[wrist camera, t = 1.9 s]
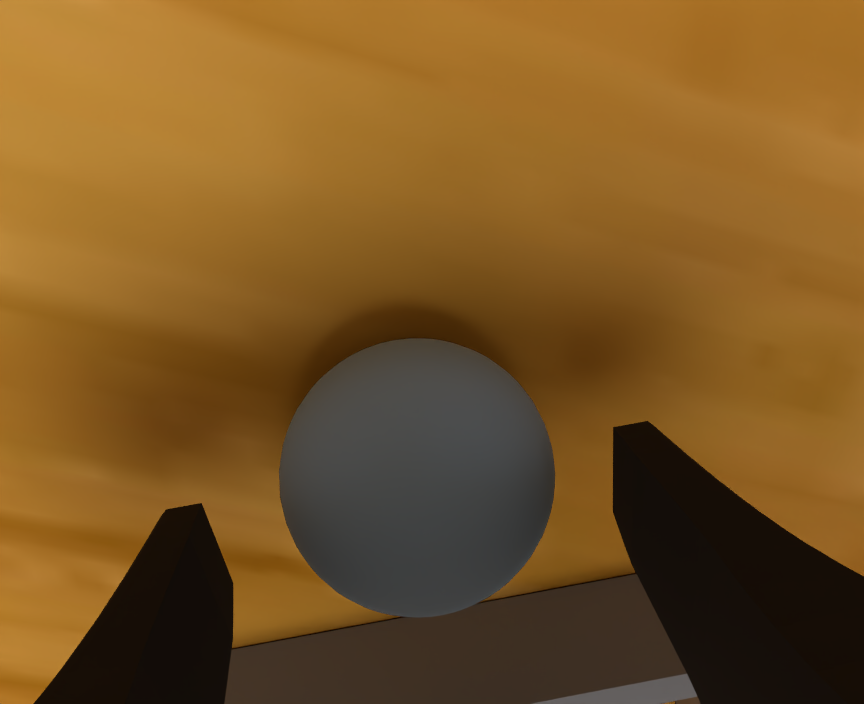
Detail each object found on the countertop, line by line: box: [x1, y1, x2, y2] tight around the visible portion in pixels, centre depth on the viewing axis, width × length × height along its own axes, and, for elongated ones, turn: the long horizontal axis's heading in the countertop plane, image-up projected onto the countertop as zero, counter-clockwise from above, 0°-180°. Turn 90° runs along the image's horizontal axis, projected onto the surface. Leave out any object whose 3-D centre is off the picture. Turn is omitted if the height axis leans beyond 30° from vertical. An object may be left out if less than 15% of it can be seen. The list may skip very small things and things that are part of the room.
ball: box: [279, 338, 555, 617], centre depth 14 cm, size 5×5×5 cm
